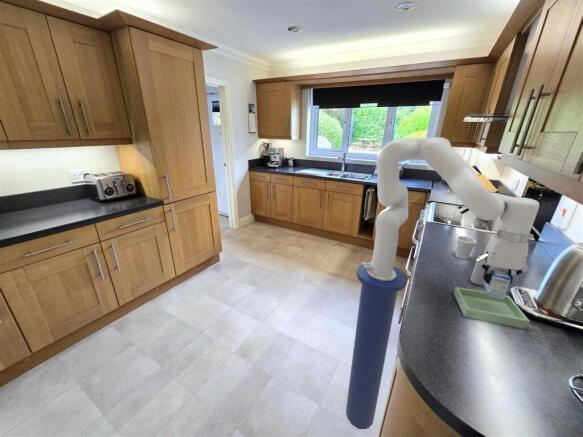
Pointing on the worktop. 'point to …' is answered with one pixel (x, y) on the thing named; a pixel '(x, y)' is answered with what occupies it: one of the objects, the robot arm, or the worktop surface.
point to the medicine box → (498, 283)
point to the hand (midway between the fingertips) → (495, 282)
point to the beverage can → (478, 273)
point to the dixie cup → (464, 246)
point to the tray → (490, 308)
